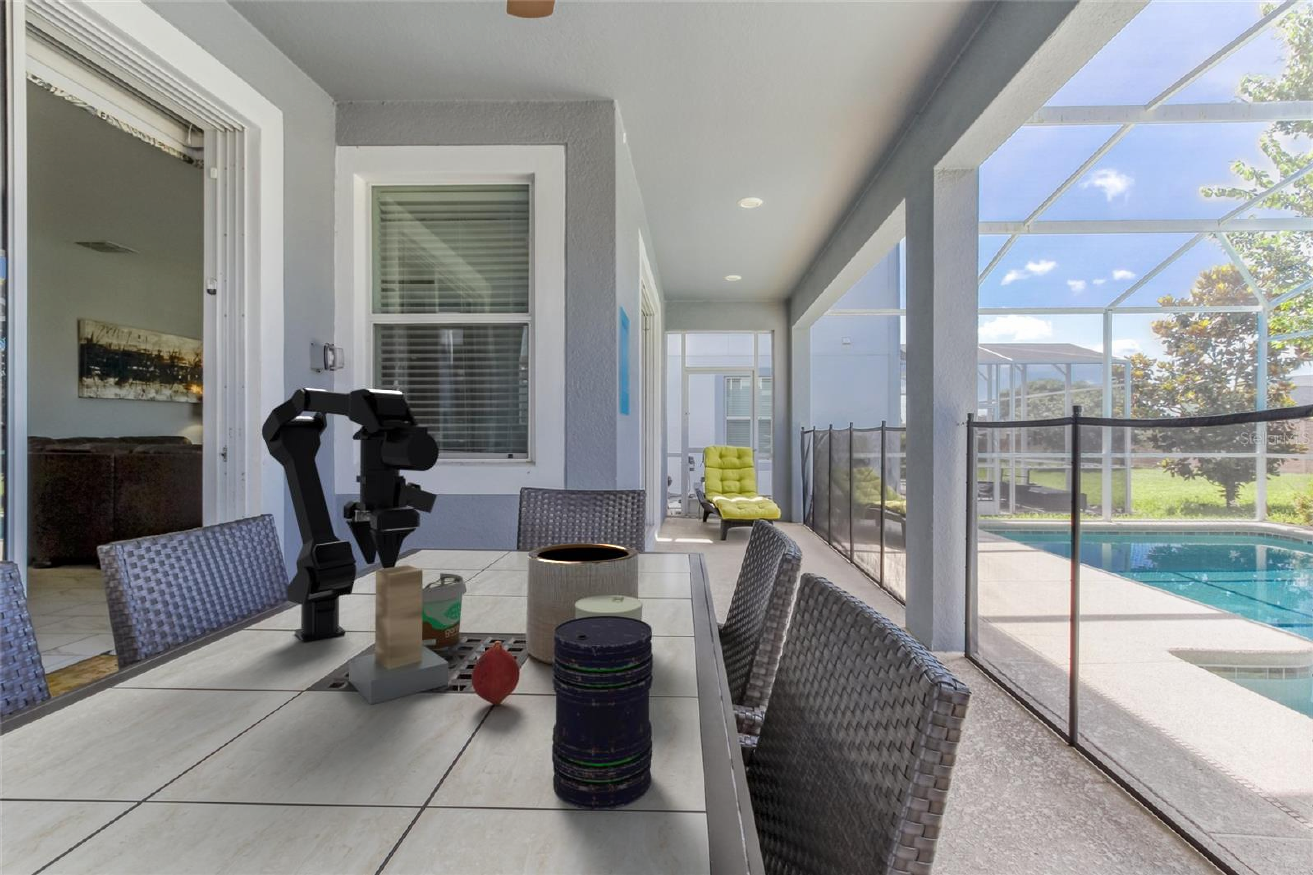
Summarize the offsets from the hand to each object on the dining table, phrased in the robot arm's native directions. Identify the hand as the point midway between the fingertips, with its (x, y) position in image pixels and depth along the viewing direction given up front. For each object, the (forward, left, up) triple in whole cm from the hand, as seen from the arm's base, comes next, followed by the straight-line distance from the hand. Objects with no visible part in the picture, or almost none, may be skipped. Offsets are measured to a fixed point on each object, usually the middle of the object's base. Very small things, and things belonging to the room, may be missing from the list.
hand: (379, 568), depth 99 cm
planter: (+20, +25, -13) cm, 35 cm away
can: (+35, +19, -13) cm, 42 cm away
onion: (+30, +5, -13) cm, 33 cm away
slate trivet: (+15, -2, -13) cm, 20 cm away
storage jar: (+53, +5, -13) cm, 55 cm away
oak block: (+15, -2, -10) cm, 18 cm away
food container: (+2, +10, -13) cm, 17 cm away
